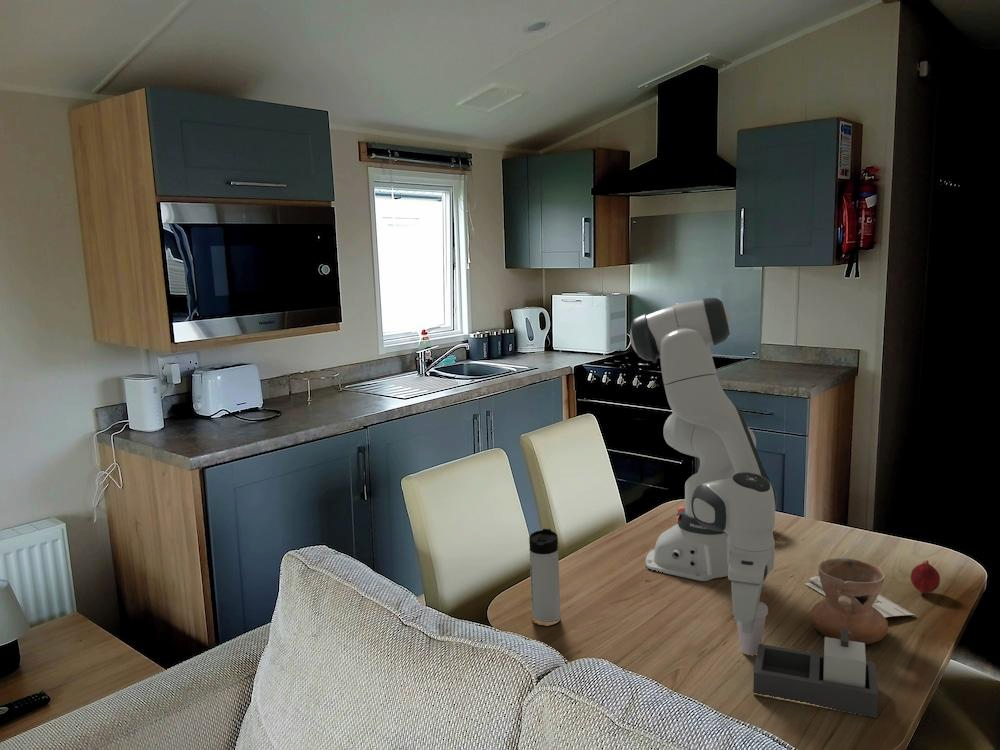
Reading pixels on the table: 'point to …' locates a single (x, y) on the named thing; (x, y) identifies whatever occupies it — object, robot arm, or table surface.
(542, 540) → the travel mug
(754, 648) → the smoothie
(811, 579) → the newspaper
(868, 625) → the ceramic jug
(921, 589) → the onion
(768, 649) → the dark grey slotted box
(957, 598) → the table surface
